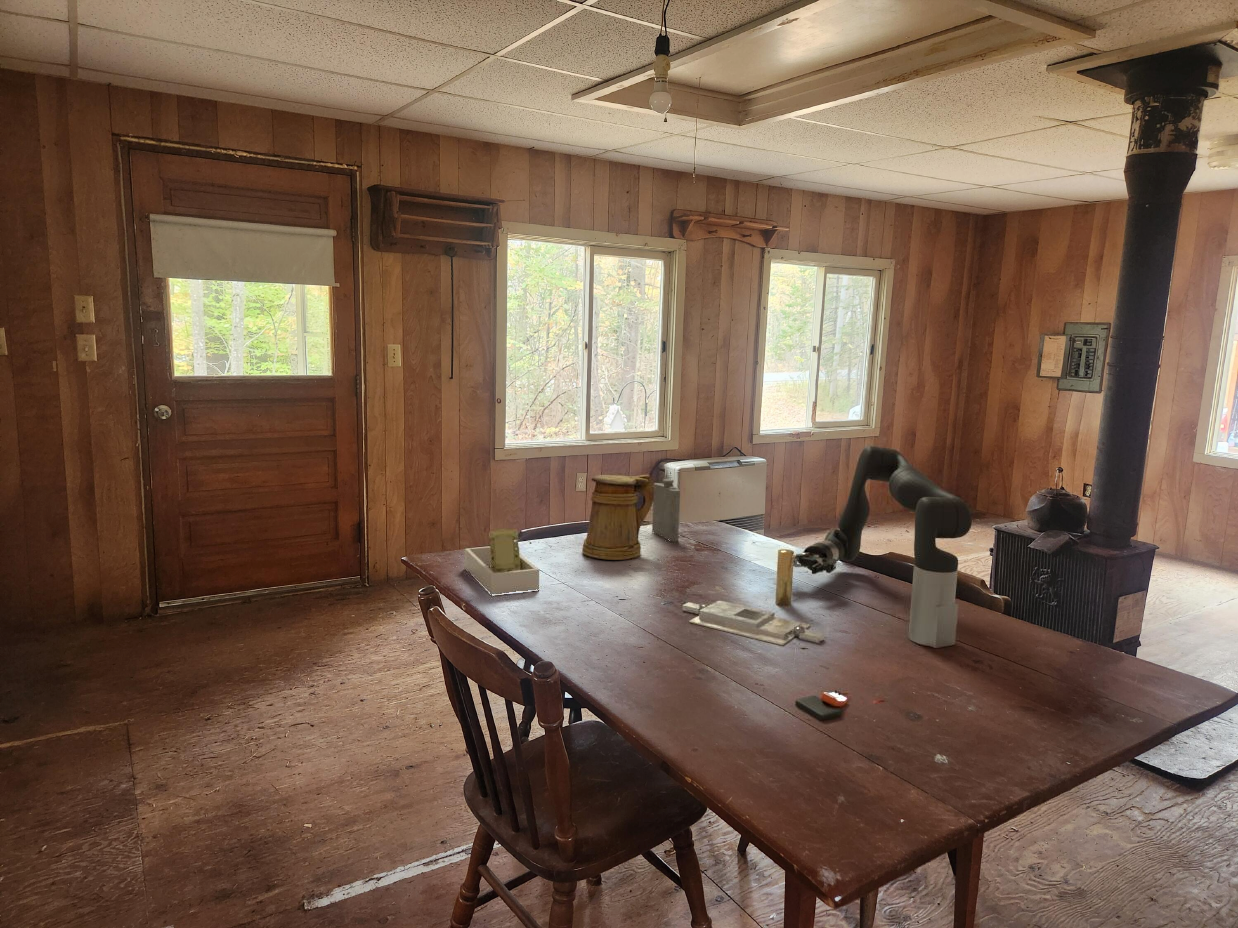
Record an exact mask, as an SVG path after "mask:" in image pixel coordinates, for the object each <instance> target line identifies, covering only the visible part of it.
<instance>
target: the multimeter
mask: <svg viewBox="0 0 1238 928" xmlns="http://www.w3.org/2000/svg"><path fill="white" fill-rule="evenodd" d="M820 697H821V698H820ZM820 697H818V696H816V695H810V696H806V697H801V698H798V699H795V701H794V702H795V707H798V708H799V709H801V710H802V711H804V712H806V713H808V714H809V715H811V716H813V718H815V719H817V720H819V721H821V722H826V721H830V720H833V719H836V718H840V717H842V709H840V708H838V707H843V706H845V705H846V704H847V701H848V698H847V697H851V695H849V693H845V692H840V691H838V690H834V691H833V692H822V693H821V696H820ZM887 699H888V697H887V698H886V697H885V698H880V699H879V700H876V701H873V702H872V704H873V703H874V704H875V703H878V702H883V701H884V700H887Z"/></svg>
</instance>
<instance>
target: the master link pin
mask: <svg viewBox="0 0 1238 928" xmlns="http://www.w3.org/2000/svg"><path fill="white" fill-rule="evenodd" d="M794 554H795V551H794V550H791V549H785V548H781V549H778V551H777V563H776V568H777V569H776V585H775V587H776V588H775V602H774V603H775V605H777V606H779V607H790V606H791V605H792V597H793V596H792V595H793V594H792V593H793V577H794V575H793V574H794V566H793V562H794Z"/></svg>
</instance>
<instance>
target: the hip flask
mask: <svg viewBox="0 0 1238 928" xmlns="http://www.w3.org/2000/svg"><path fill="white" fill-rule="evenodd" d="M662 481H663V482H661V483H660V482H654V483H653V485H654V499H653V504H652V522H651V523H652V525H651V527H652V528H651V529H652V531H651V532H654V533H653V534H655V533H656V534H655V535H657V534H660V535H662V536H664V537H666V538H667V539H669V540H670V541H678V542H679V534H680V533H679V529H680V527H679V526H680V499H681V490H680V489H679V488H677V487H675V486H674V482H675V481H674V479H672V478H671V479H668V478H667V479H662ZM660 535H659V536H660ZM662 536H661V537H662ZM664 537H663V538H664ZM666 538H665V539H666ZM667 539H666V540H667ZM669 540H668V541H669ZM670 541H669V542H670Z"/></svg>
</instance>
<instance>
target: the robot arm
mask: <svg viewBox="0 0 1238 928" xmlns="http://www.w3.org/2000/svg"><path fill="white" fill-rule="evenodd" d="M868 480H872V481H879V482H884V483H888V485H887V486H888V490H889V493H890V495H891V497H892V498H893V500H895V501H896V502H897V503H898V504H899V505H900V506H901V507H904V508H905V509H907V510H909V511H912V512H915V513H914V541H913V552H914V553H913V554H914V555H913V557H914V560H913V562H914V563H913V575H912V586H911V600H910V610H909V611H910V613H909V624H908V625H909V626H908V635H907V636H908V639H909V640H910V641H912V642H914V643H915V644H918V645H919V644H920V645H921V646H927V647H931V648H935V649H938V648H944V647H948V646H953V645H956V636H957V627H958V626H957V625H958V624H957V623H958V615H959V604H958V603H956V592H957V591H956V590H957V583H958V581H957V580H958V569H959V559H958V557H957V556H956V555H955V554H953V553H951V552H948V551H945V550H943V549H941V548H938V547H937V544H936V541H937V540H936V539H958V538H963V537H964V536H966V535H967V534H968V533H969V532H970V530H971V528H972V522H973V518H972V513H971V510H970V508H969V506H968V505H967V503H966V502H965V501H964V500H963V499H962V498H960V497H959V496H956V495H955V494H952V493H951V492H949V491H946V490H945V489H943V488H942V487H940V486H938V484H936V483H935V482H934V481H932V480H931V479H930V478H928V477H927V476H926V475H925V474H924V473H923V472H921V471H919V469H917V468H915V466H913V465H912V464H911V463H910V462H909V461H908V460H907V459H906V457H905V455H903V454H902V453H901V452H900V451H899V450H896V449H893V448H889V447H882V446H874V445H868V446H865V447H864V448H863V449H862V451H861V452H860V454H859V457H858V460H857V462H856V467H855V471H854V474H853V478H852V482H851V485H850V486H851V487H850V490H849V494H848V495H849V496H848V498H847V502H846V504H845V507H844V509H843V510H842V511H843V512H842V514H841V516H840V518H839V520H838V524H837V525H838V529H837V528H833V529H830V530H829V532H827V534H826V536H825V538H824V539H823V540H821V541H818V542H815V543H813V544H811V545H809V546H807V547H806V548H805V549H804V550H803V552H802V553H794V562H793V568H805V569H806V568H807V569H808V570H809V571H810V572H811V574H812V575H816V574H819V573H823V572H825V573H827V574H830V573H832V572H834V571H835V570H836V569H837V562H839V561H840V560H842V561H845V562H851V561H854V560H855V559H856V558H857V557H858V555H859V554H860V552H861V551H860V550H861V547H862V546H861V545H862V542H861V541H862V535H863V534H862V533H863V530H864V527H865V525H866V523H867V521H868V519H869V517H870V514H871V513H870V511H871V507H870V503H869V499H868V498H869V497H868V495H867V491H866V483H867V481H868Z"/></svg>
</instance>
